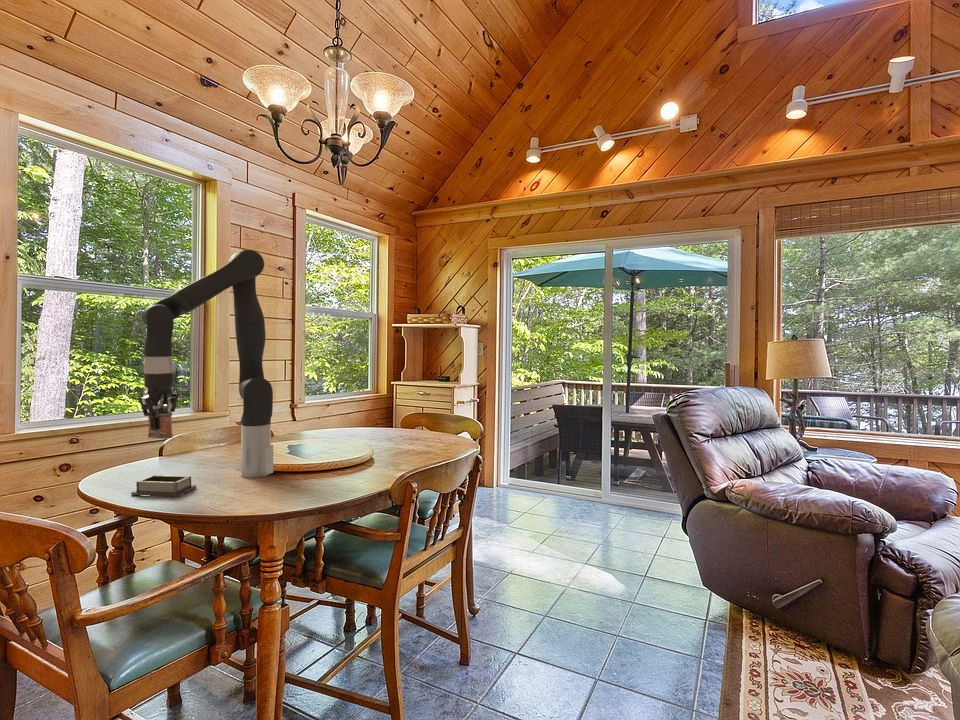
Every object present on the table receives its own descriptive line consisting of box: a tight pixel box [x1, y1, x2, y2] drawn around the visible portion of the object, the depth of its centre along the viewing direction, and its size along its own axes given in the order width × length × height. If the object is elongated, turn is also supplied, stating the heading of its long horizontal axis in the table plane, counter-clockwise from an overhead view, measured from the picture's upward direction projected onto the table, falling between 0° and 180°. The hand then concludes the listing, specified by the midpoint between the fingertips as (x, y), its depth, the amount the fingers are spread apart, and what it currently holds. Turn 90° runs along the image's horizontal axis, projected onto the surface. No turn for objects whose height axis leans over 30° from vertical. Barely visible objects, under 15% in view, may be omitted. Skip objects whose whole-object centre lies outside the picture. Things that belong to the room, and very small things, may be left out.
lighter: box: [147, 405, 174, 440], centre depth 155 cm, size 8×3×10 cm, turn 73°
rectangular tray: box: [130, 474, 197, 498], centre depth 154 cm, size 9×14×4 cm, turn 86°
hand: (160, 428), depth 155 cm, fingers closed on lighter, 3 cm apart
